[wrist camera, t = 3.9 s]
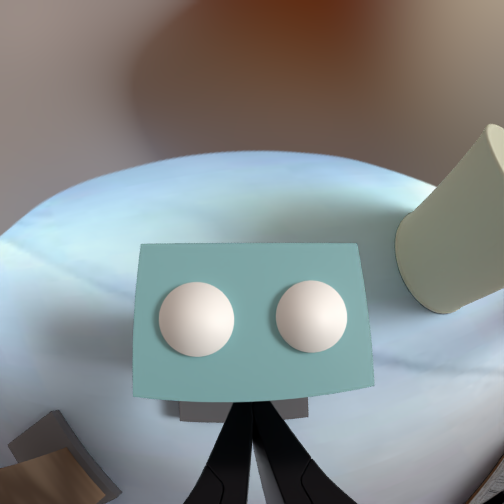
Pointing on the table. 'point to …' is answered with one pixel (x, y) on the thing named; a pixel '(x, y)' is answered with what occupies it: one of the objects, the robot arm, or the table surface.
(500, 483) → the tin
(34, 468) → the brown box
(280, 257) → the teal block
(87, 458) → the socket
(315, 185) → the table surface
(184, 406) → the socket
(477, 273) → the can
